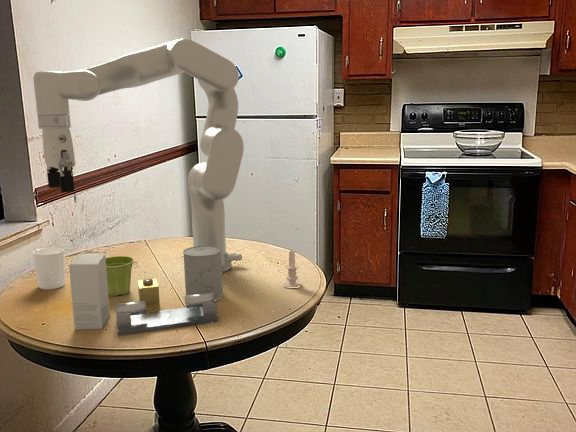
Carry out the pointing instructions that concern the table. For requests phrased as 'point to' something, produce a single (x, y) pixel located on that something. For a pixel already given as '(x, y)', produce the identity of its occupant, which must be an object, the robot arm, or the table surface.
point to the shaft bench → (165, 315)
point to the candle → (292, 271)
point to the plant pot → (118, 274)
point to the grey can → (203, 270)
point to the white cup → (49, 267)
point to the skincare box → (89, 291)
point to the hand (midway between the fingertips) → (61, 189)
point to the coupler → (149, 293)
